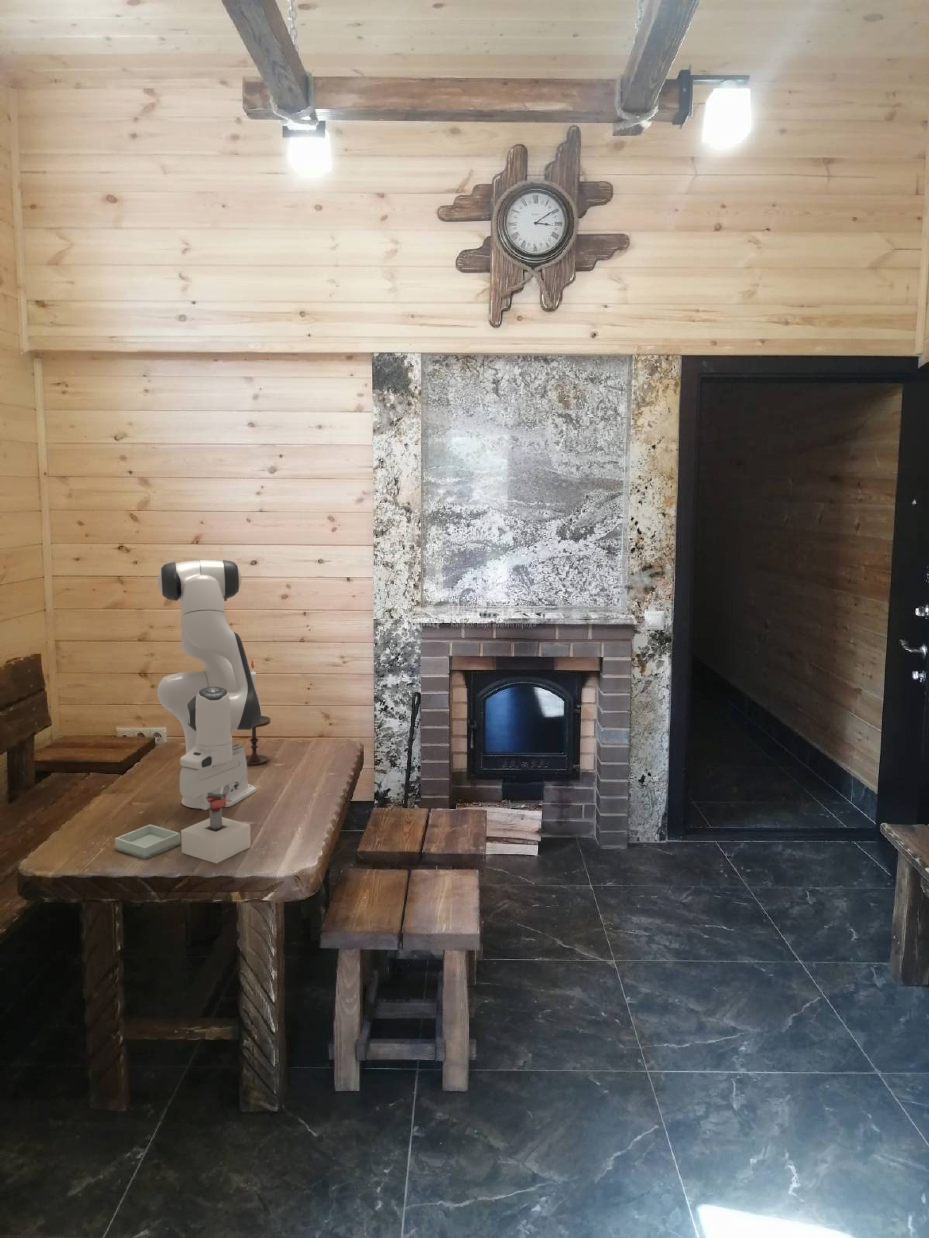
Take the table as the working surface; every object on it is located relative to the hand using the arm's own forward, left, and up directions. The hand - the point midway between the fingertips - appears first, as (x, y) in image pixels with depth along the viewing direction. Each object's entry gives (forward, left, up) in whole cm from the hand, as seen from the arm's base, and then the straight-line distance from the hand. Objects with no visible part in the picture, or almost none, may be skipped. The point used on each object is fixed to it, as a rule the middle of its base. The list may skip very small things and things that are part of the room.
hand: (215, 804), depth 225 cm
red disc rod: (0, 0, -11) cm, 11 cm away
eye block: (0, 0, -12) cm, 12 cm away
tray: (+8, -16, -12) cm, 22 cm away
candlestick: (-59, -42, -12) cm, 73 cm away
